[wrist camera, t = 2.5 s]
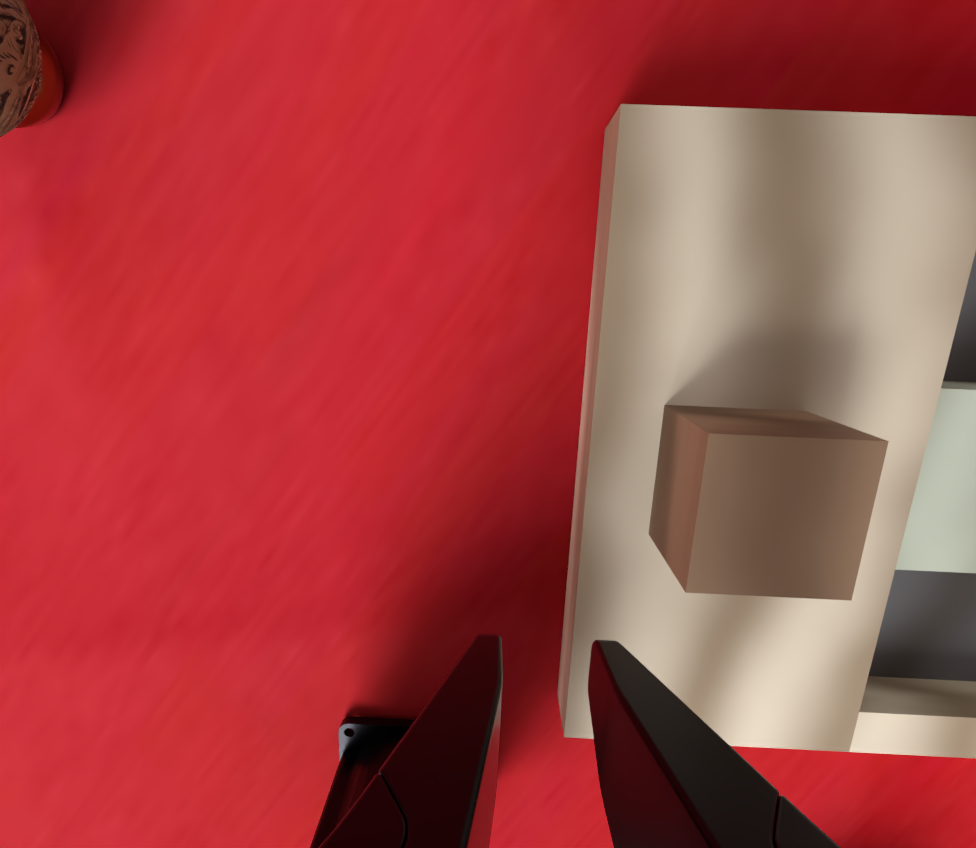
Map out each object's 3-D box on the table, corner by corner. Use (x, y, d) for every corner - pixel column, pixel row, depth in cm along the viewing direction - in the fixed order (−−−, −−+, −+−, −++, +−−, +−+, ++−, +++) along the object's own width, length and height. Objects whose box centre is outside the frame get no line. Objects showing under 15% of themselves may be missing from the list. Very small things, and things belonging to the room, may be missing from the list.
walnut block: (648, 533, 19) (685, 592, 16) (664, 404, 18) (708, 433, 14) (781, 540, 19) (851, 600, 16) (805, 410, 18) (888, 441, 14)
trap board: (557, 693, 24) (573, 804, 19) (604, 129, 18) (647, 60, 13) (1051, 717, 24) (1211, 838, 19) (1255, 152, 18) (1570, 91, 13)
